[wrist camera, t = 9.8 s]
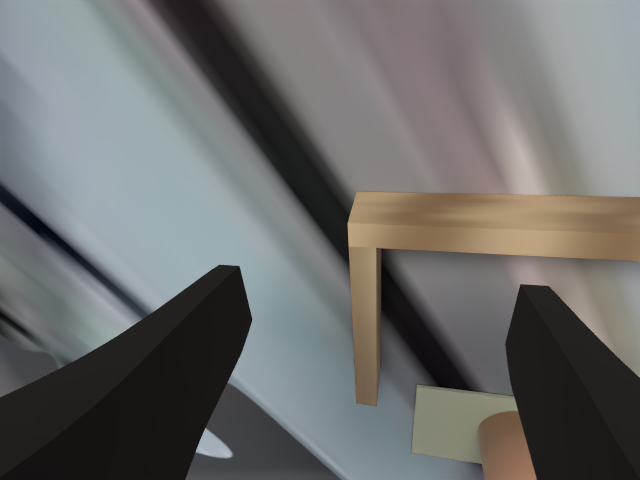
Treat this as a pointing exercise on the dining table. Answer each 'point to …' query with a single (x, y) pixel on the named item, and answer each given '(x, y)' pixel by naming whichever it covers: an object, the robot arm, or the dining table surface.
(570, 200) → the tan wooden bent bar
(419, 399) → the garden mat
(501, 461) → the terracotta pot
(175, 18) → the dining table surface
